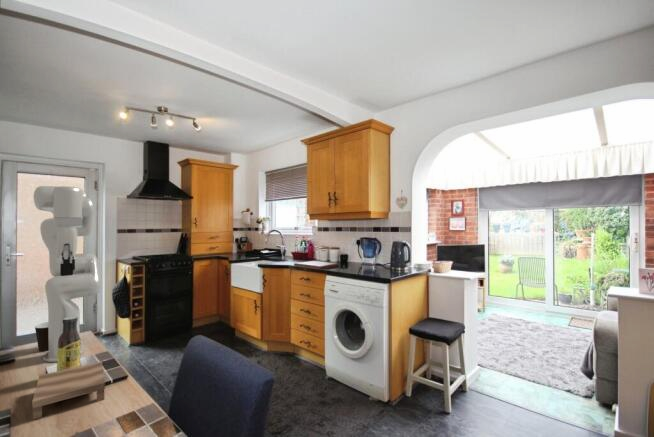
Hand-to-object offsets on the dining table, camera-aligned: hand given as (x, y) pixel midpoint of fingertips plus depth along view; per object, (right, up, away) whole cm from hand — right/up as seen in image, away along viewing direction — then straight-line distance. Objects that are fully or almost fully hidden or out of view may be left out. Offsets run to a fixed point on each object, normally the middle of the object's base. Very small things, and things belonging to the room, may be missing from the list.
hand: (68, 272), depth 108 cm
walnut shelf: (+10, -36, -11) cm, 39 cm away
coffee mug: (-27, -36, +25) cm, 51 cm away
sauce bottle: (0, -36, +1) cm, 36 cm away
